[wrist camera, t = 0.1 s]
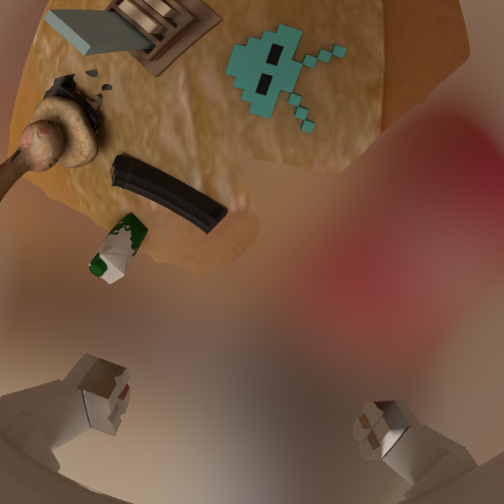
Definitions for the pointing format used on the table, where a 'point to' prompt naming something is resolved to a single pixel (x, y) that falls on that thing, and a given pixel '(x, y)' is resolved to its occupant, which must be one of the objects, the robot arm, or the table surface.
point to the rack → (171, 31)
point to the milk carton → (118, 249)
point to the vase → (56, 133)
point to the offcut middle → (142, 17)
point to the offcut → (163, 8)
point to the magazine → (166, 192)
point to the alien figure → (273, 71)
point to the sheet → (97, 31)
